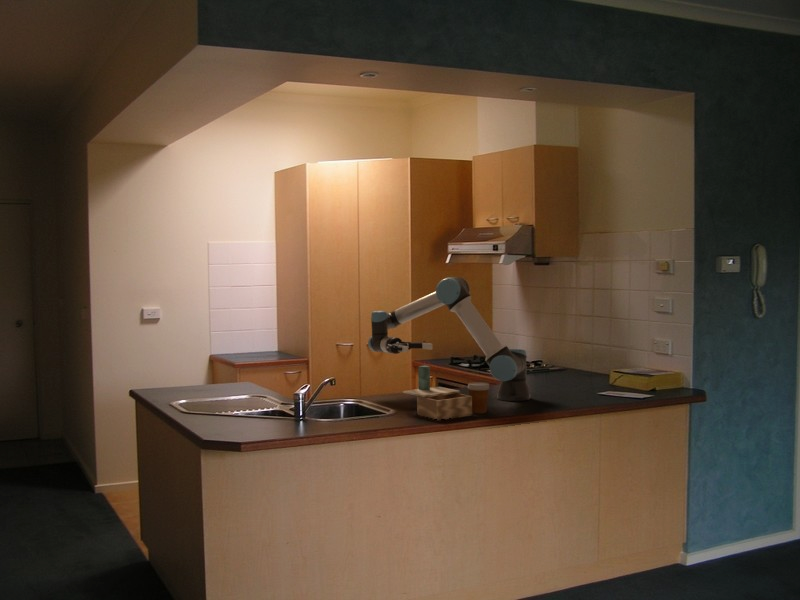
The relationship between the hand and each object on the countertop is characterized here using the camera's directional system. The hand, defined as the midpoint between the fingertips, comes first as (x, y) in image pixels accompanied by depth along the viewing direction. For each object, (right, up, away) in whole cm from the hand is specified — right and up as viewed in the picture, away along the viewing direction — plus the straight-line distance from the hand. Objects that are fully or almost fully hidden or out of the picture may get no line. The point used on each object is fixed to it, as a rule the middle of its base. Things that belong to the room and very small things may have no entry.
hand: (419, 348), depth 375 cm
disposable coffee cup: (+25, -26, -16) cm, 39 cm away
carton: (+10, -27, -23) cm, 36 cm away
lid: (+4, -18, -16) cm, 24 cm away
